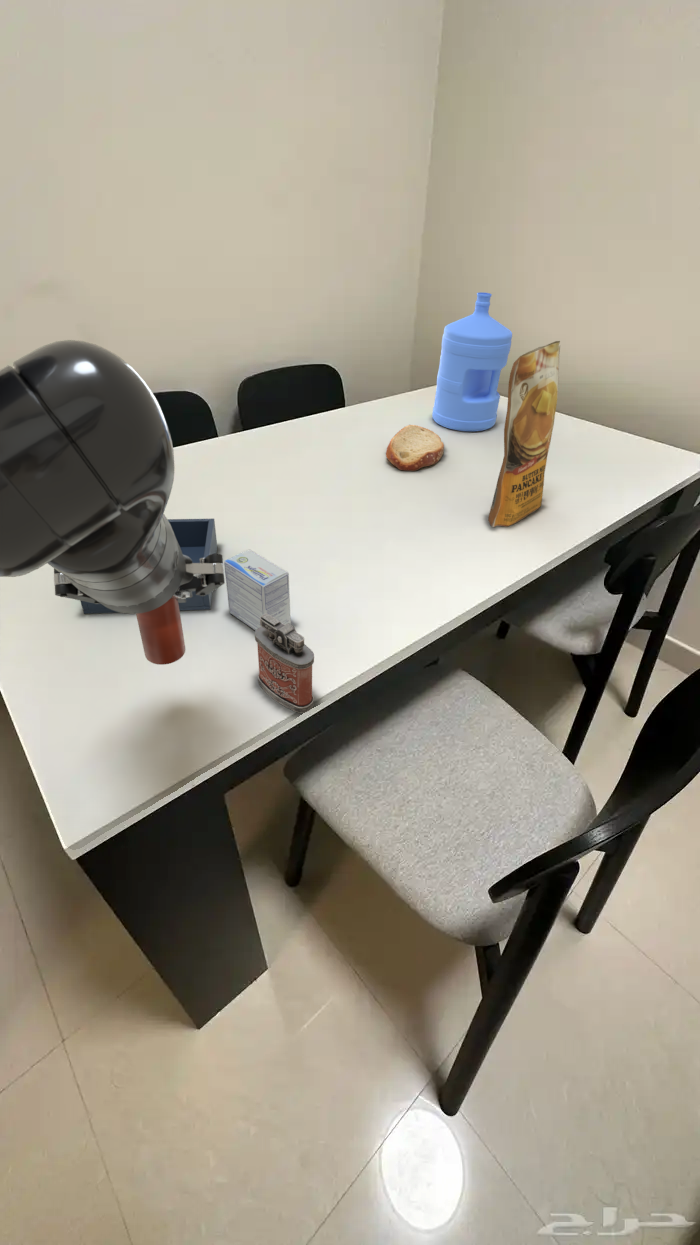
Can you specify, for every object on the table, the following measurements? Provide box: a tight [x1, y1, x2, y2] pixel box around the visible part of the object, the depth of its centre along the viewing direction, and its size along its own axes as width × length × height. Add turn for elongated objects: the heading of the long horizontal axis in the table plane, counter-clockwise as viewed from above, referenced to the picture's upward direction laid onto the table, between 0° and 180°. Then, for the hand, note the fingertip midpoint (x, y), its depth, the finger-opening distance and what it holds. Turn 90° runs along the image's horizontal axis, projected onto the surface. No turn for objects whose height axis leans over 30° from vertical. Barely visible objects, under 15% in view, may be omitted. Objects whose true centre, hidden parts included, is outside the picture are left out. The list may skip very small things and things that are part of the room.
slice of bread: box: [385, 424, 445, 472], centre depth 126 cm, size 18×18×4 cm
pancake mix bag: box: [487, 340, 561, 528], centre depth 98 cm, size 7×19×28 cm, turn 137°
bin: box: [79, 518, 218, 615], centre depth 83 cm, size 17×17×5 cm
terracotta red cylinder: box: [135, 599, 186, 666], centre depth 57 cm, size 4×4×9 cm
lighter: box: [254, 614, 315, 714], centre depth 65 cm, size 8×3×10 cm, turn 49°
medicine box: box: [223, 549, 292, 631], centre depth 76 cm, size 8×4×9 cm, turn 47°
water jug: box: [432, 292, 513, 432], centre depth 136 cm, size 16×16×28 cm
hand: (157, 594), depth 57 cm, fingers closed on terracotta red cylinder, 4 cm apart
